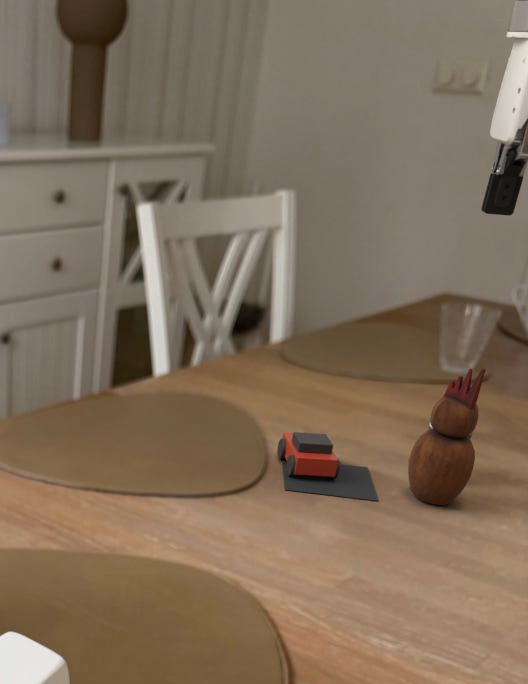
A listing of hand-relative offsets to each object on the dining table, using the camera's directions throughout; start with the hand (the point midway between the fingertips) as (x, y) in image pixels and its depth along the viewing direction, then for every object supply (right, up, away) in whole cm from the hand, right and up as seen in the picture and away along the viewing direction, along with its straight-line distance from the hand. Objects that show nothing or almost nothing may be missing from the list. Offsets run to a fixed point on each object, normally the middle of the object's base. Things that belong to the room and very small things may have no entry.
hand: (496, 213), depth 112 cm
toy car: (-18, -27, +1) cm, 33 cm away
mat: (-19, -30, 0) cm, 36 cm away
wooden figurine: (-9, -33, -3) cm, 35 cm away
